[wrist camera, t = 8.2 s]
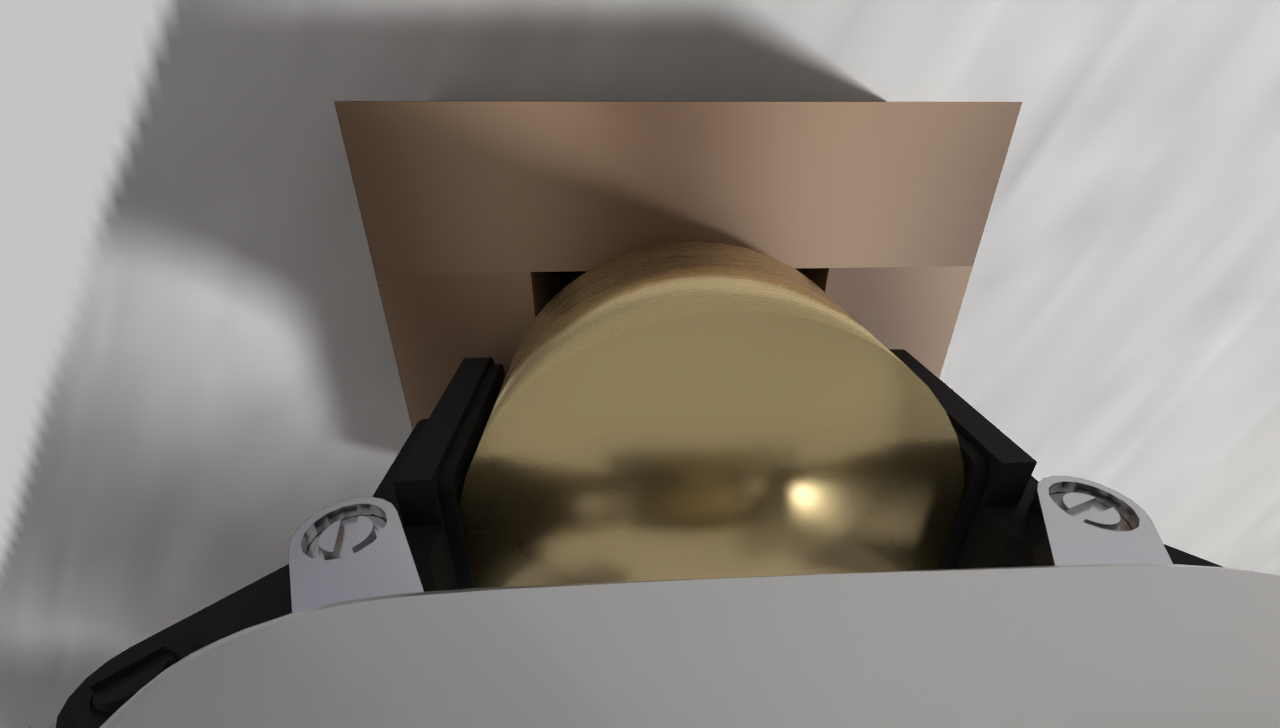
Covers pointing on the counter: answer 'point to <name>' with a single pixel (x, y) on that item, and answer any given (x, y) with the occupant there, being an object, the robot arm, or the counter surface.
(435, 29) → the counter surface
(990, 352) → the counter surface
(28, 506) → the counter surface
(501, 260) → the block
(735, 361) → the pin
